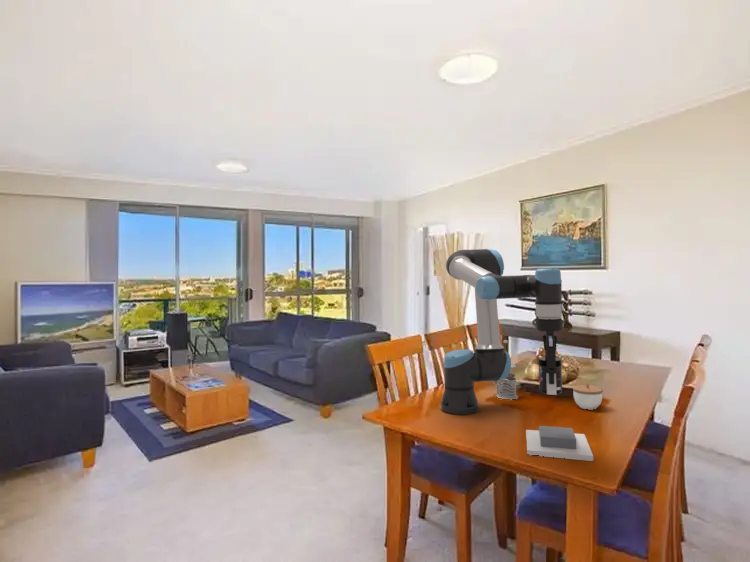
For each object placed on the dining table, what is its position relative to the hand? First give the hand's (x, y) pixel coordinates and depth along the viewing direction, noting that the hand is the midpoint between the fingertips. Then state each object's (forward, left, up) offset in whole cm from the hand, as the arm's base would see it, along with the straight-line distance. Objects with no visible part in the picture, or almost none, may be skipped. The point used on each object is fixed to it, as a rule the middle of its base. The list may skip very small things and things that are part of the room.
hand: (551, 391), depth 140 cm
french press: (-16, +54, -18) cm, 59 cm away
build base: (+1, 0, -17) cm, 17 cm away
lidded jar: (+16, +45, -18) cm, 51 cm away
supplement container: (0, 0, -1) cm, 1 cm away
